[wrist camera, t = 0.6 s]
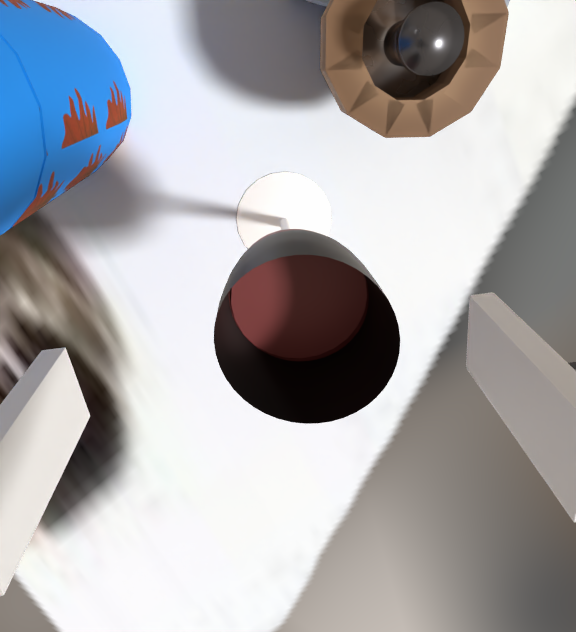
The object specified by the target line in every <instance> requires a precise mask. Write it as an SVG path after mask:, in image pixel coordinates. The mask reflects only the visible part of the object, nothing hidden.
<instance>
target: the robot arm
mask: <svg viewBox="0 0 576 632" xmlns="http://www.w3.org/2000/svg"><path fill="white" fill-rule="evenodd" d="M468 320H469V321H468V340H467V363H466V368H467V370H468V371H469V372H470V374H471V375H472V377H473V378H474V380H475V381H476V383H477V384H478V385H479V387H480V388H481V390H482V391H483V393H484V394H485V395H486V397H487V398H488V400H489V401H490V403H491V404H492V406H493V407H494V408H495V410H496V411H497V413H498V414H499V416H500V417H501V418H502V420H503V421H504V423H505V424H506V426H507V427H508V428H509V430H510V431H511V433H512V434H513V436H514V437H515V438H516V440H517V441H518V443H519V444H520V445H521V447H522V449H523V450H524V451H525V453H526V454H527V456H528V457H529V458H530V460H531V462H532V463H533V464H534V466H535V467H536V469H537V470H538V472H539V473H540V474H541V476H542V477H543V479H544V480H545V481H546V483H547V484H548V486H549V487H550V489H551V490H552V492H553V493H554V495H555V496H556V497H557V499H558V500H559V502H560V503H561V504H562V506H563V507H564V509H565V510H566V512H567V513H568V515H569V516H570V517H571V519H572V520H573V522H576V362H572V363H567V362H566V361H565V360H564V359H563V358H562V357H561V356H560V355H559V354H558V353H557V352H555V351H554V350H553V349H552V348H551V347H550V346H549V345H548V344H547V343H546V342H545V341H544V340H543V339H542V338H541V337H540V336H539V335H538V334H537V333H535V332H534V331H533V330H532V329H531V328H530V327H529V326H528V325H527V324H526V323H525V322H524V321H523V320H522V319H521V318H519V316H517V315H516V313H514V312H513V311H512V310H511V309H510V308H509V307H508V306H507V305H506V304H505V303H504V302H503V301H502V300H501V299H500V298H499V297H498V296H497V295H496V294H494V293H493V292H492V293H486V294H485V293H484V294H477V295H470V298H469V319H468ZM89 417H90V414H89V411H88V409H87V406H86V403H85V400H84V398H83V395H82V392H81V389H80V386H79V384H78V381H77V378H76V375H75V373H74V370H73V367H72V364H71V361H70V359H69V356H68V353H67V350H66V348H58V349H50V350H42V351H41V352H40V354H39V355H38V356H37V358H36V359H35V360H34V362H33V363H32V364H31V365H30V367H29V368H28V369H27V371H26V372H25V373H24V375H23V376H22V377H21V379H20V380H19V381H18V382H17V384H16V385H15V386H14V388H13V389H12V390H11V392H10V393H9V394H8V396H7V397H6V398H5V399H4V401H3V402H2V403H1V405H0V595H4V594H5V592H6V589H7V588H8V585H9V583H10V581H11V579H12V577H13V575H14V573H15V571H16V569H17V567H18V565H19V563H20V561H21V559H22V556H23V554H24V552H25V550H26V548H27V546H28V544H29V542H30V540H31V538H32V536H33V534H34V532H35V529H36V527H37V525H38V523H39V521H40V519H41V517H42V515H43V513H44V511H45V509H46V507H47V505H48V502H49V500H50V498H51V496H52V494H53V492H54V490H55V488H56V486H57V484H58V482H59V480H60V478H61V476H62V473H63V471H64V469H65V467H66V465H67V463H68V461H69V459H70V457H71V455H72V453H73V451H74V449H75V446H76V444H77V442H78V440H79V438H80V436H81V434H82V432H83V430H84V428H85V426H86V424H87V422H88V420H89Z"/></svg>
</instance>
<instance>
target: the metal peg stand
mask: <svg viewBox="0 0 576 632" xmlns="http://www.w3.org/2000/svg"><path fill="white" fill-rule="evenodd" d="M463 43H464V26H463V22H462V19H461V17H460V15H459V14H458V12H457V11H456V10H455V9H454V8H453V7H452V6H450V5H448V4H446V3H445V2H444V1H443V0H377V2H376V4H375V6H374V8H373V10H372V11H371V13H370V15H369V17H368V19H367V21H366V23H365V24H364V29H363V50H362V60H363V62H364V64H365V66H366V68H367V70H368V73H369V75H370V77H371V79H372V81H373V83H374V85H375V86H376V87H377V88H379V89H381V90H382V91H384V92H385V93H387V94H388V95H390V96H391V97H393V98H398V97H413V96H415V95H416V94H418V93H420V92H421V91H423V90H425V89H426V88H428V87H429V86H431V85H433V84H434V83H435V82H436V81H437V79H438V77H439V76H440V74H441V73H442V72H443V71H445V70H446V69H448V68H449V67H450V66H451V65H452V64H453V63H454V62H455V61H456V59H457V58H458V56H459V54H460V52H461V50H462V47H463Z"/></svg>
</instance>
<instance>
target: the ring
mask: <svg viewBox="0 0 576 632" xmlns="http://www.w3.org/2000/svg"><path fill="white" fill-rule="evenodd" d="M443 1H444V2H445V3H446V4H448V5H450V6H452V7H453V8H454V9H455V10H456V11H457V12H458V14H459V15H460V17H461V19H462V22H463V26H464V43H463V47H462V50H461V52H460V54H459V56H458V58H457V59H456V61H455V62H454V63H453V64H452V65H451V66H450V67H449V68H448V69H446V70H445V71H443V72H442V73H441V74H440V76H439V77H438V79H437V81H436V82H435V83H434V84H433V85H431V86H429V87H428V88H426V89H425V90H423V91H421V92H420V93H418V94H416V95H415V96H413V97H398V98H393V97H391V96H390V95H388V94H387V93H385V92H384V91H382V90H381V89H379V88H377V87H376V86H375V85H374V83H373V81H372V79H371V77H370V75H369V73H368V70H367V68H366V66H365V64H364V62H363V60H362V50H363V29H364V24H365V23H366V21H367V19H368V17H369V15H370V13H371V11H372V10H373V8H374V6H375V4H376V2H377V0H330V1H329V3H328V5H327V7H326V9H325V11H324V13H323V15H322V17H321V43H320V71H321V73H322V75H323V76H324V78H325V80H326V82H327V84H328V86H329V88H330V90H331V92H332V94H333V96H334V98H335V100H336V102H337V104H338V106H339V108H340V110H341V111H342V112H344V113H345V114H347V115H349V116H350V117H352V118H353V119H355V120H357V121H358V122H360V123H362V124H363V125H365V126H366V127H368V128H370V129H371V130H373V131H375V132H376V133H378V134H380V135H381V136H383V137H385V138H393V137H429V136H432V135H433V134H435V133H437V132H438V131H440V130H442V129H443V128H445V127H447V126H448V125H450V124H452V123H453V122H455V121H457V120H458V119H460V118H462V117H463V116H465V115H467V114H468V113H470V112H471V111H472V110H473V108H474V107H475V105H476V104H477V102H478V101H479V99H480V97H481V96H482V94H483V93H484V91H485V90H486V88H487V87H488V85H489V84H490V82H491V81H492V79H493V78H494V76H495V75H496V73H497V72H498V70H499V69H500V65H501V59H502V53H503V46H504V40H505V33H506V27H507V21H508V14H509V12H508V9H507V6H506V3H505V0H443Z"/></svg>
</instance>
